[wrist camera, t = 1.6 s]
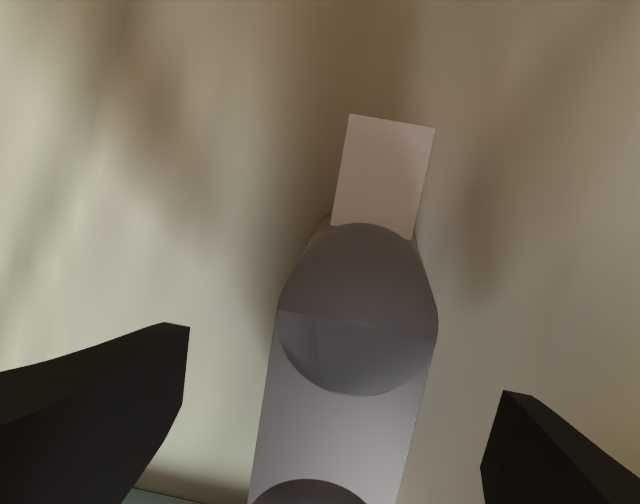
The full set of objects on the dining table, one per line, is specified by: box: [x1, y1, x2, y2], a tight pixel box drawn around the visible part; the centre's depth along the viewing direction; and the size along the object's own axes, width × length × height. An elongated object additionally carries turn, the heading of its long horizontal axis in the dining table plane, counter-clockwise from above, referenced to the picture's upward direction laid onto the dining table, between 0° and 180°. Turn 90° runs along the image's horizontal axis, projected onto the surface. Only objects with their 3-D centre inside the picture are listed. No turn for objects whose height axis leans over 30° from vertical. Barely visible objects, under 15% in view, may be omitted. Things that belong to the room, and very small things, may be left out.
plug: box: [247, 113, 438, 504], centre depth 12 cm, size 3×10×5 cm, turn 170°
